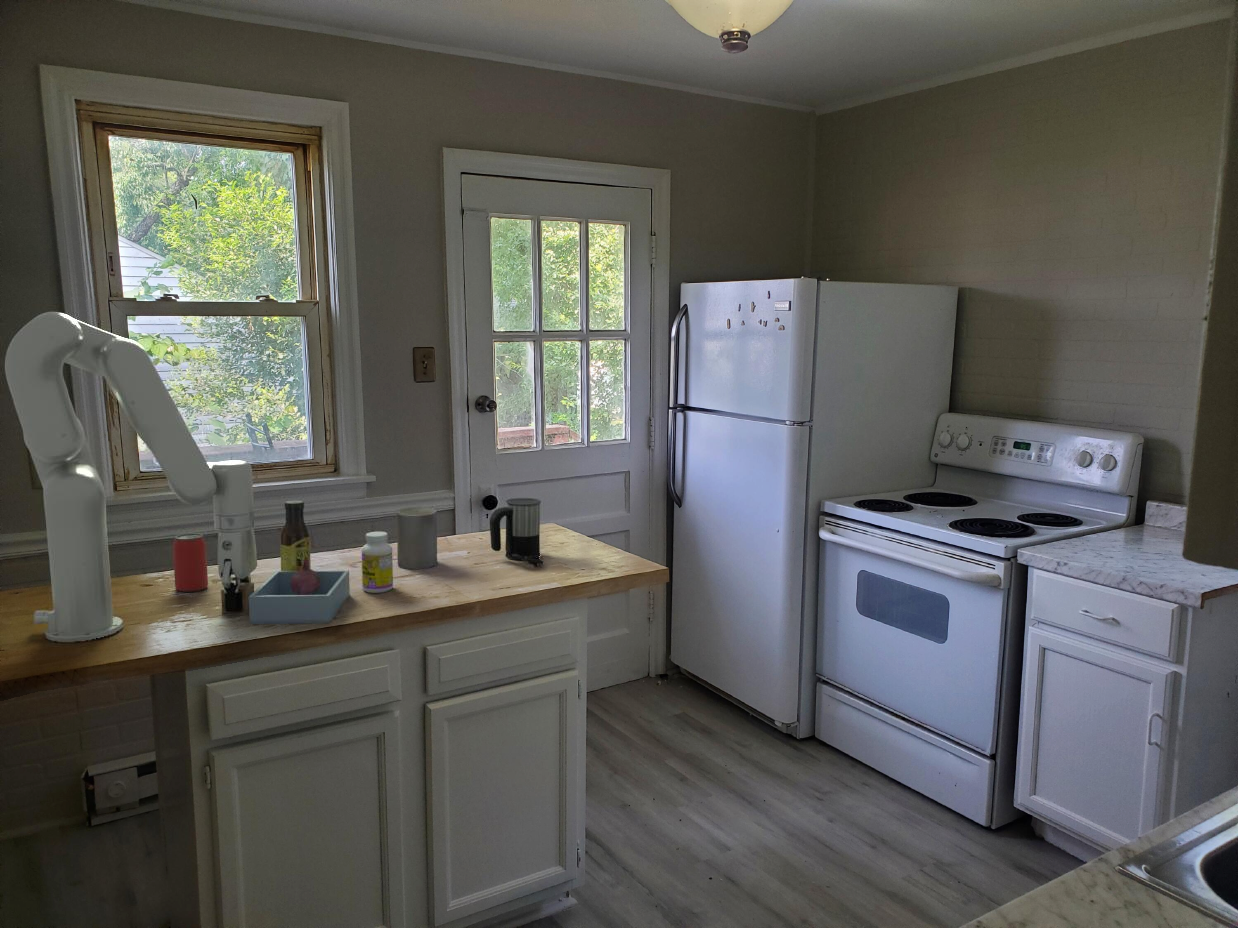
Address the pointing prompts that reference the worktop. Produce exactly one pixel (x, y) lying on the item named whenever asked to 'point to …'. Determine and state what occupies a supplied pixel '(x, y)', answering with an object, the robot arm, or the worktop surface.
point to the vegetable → (305, 580)
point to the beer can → (190, 562)
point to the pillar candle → (416, 537)
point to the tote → (298, 599)
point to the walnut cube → (246, 592)
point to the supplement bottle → (377, 563)
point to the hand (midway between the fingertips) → (238, 605)
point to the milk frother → (518, 529)
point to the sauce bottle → (294, 538)
